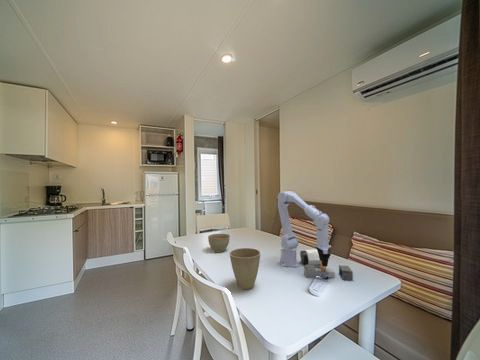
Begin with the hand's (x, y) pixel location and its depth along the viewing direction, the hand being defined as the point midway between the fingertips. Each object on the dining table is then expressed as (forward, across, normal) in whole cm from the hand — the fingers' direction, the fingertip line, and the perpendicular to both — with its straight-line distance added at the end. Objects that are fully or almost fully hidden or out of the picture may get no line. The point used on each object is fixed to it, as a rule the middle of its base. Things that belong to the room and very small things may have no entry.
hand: (323, 263), depth 108 cm
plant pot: (+7, -17, +39) cm, 43 cm away
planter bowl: (+6, +32, +68) cm, 75 cm away
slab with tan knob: (+6, 0, +2) cm, 7 cm away
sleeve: (+6, 0, +4) cm, 7 cm away
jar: (+2, +18, -2) cm, 18 cm away
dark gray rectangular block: (+7, 0, -11) cm, 13 cm away
